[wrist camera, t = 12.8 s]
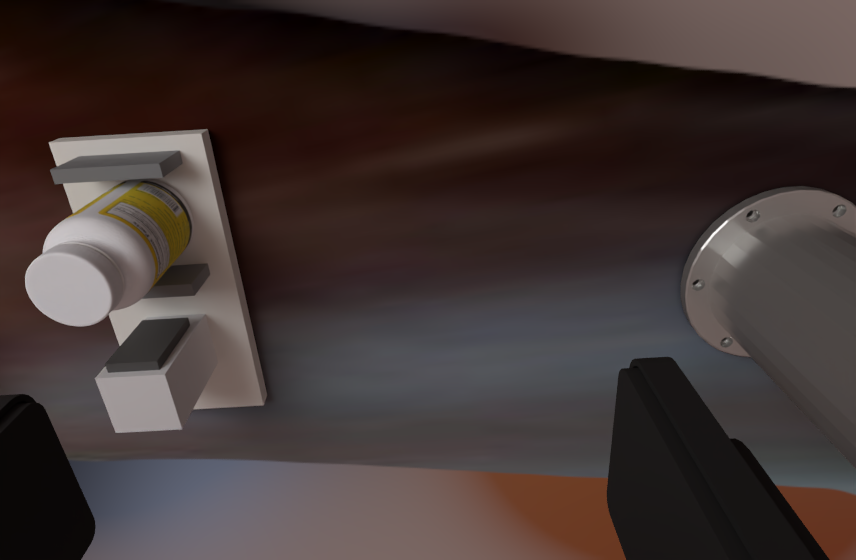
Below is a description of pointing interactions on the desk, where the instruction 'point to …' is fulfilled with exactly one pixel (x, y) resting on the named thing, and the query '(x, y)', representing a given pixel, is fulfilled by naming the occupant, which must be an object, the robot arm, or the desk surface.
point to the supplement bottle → (109, 252)
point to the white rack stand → (171, 287)
